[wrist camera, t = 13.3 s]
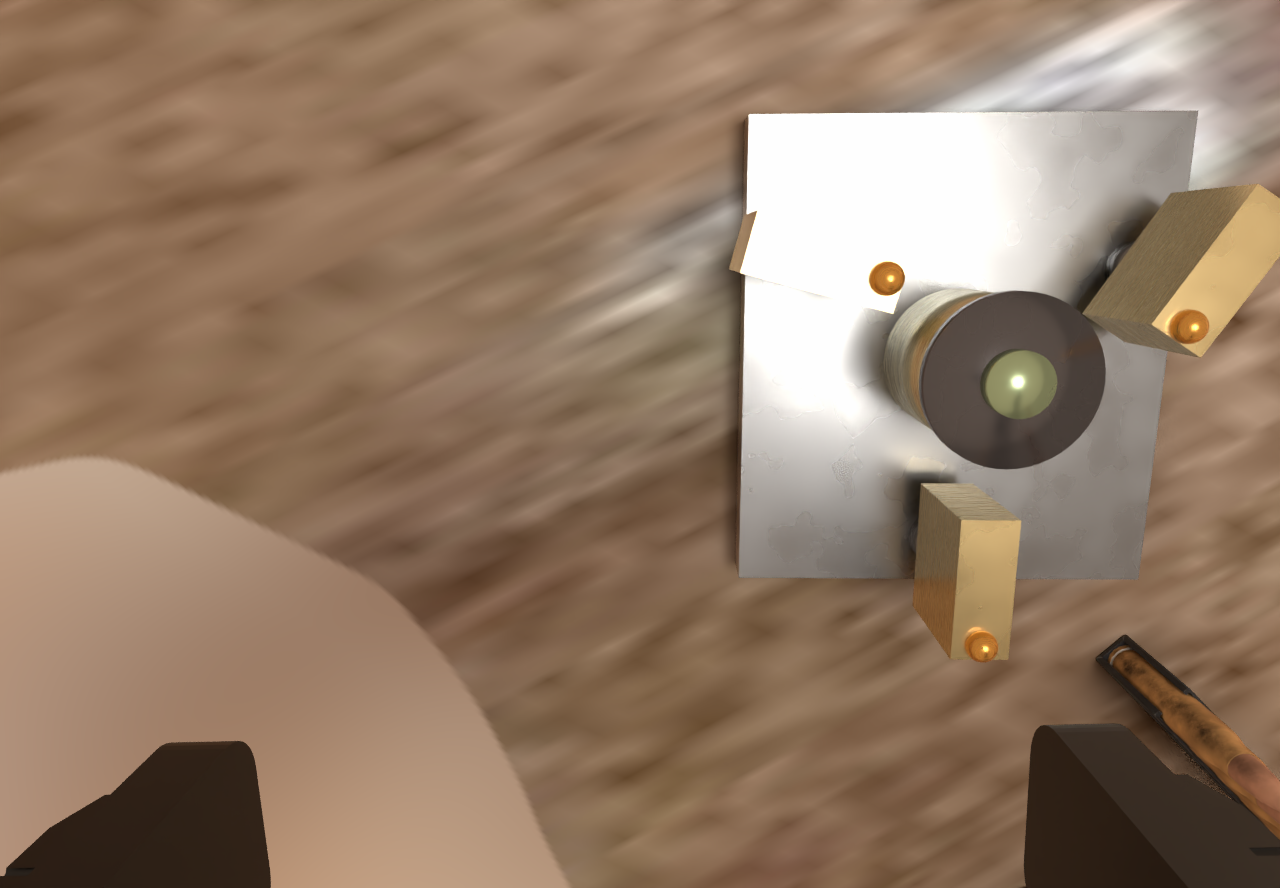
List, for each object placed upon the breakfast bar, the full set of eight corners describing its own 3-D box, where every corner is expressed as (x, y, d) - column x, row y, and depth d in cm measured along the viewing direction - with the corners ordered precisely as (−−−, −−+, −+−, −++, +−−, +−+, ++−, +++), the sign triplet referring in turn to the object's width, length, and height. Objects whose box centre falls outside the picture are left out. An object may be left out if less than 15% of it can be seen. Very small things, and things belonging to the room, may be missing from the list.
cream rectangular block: (741, 216, 36) (759, 209, 30) (870, 251, 37) (918, 252, 30) (726, 268, 37) (742, 273, 30) (853, 302, 37) (898, 315, 30)
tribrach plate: (1115, 563, 41) (1243, 652, 32) (735, 562, 42) (755, 649, 33) (1169, 117, 37) (1334, 76, 28) (744, 121, 38) (770, 81, 28)
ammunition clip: (1260, 774, 44) (1478, 966, 32) (1229, 797, 44) (1434, 996, 32) (1124, 633, 42) (1301, 781, 31) (1094, 658, 43) (1257, 814, 31)
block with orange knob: (963, 476, 39) (1029, 526, 32) (953, 595, 40) (1015, 668, 33) (913, 476, 39) (967, 526, 32) (905, 595, 40) (956, 668, 33)
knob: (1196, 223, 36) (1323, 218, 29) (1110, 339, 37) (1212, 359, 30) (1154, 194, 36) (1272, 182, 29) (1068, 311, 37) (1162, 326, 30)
